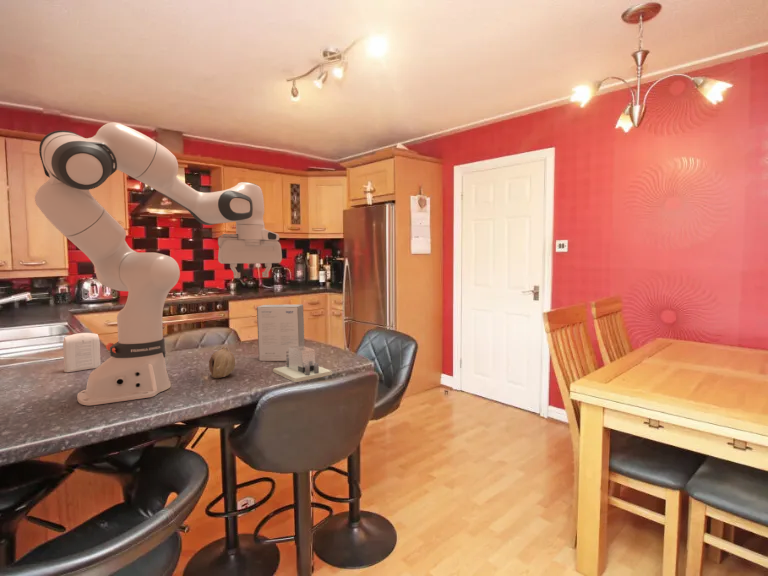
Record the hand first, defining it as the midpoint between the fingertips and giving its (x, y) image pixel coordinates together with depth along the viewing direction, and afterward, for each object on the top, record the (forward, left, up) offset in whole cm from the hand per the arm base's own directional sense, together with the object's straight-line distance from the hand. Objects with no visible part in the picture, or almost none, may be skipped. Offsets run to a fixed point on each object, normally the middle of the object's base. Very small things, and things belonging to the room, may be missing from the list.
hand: (251, 277), depth 140 cm
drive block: (+11, -12, -30) cm, 34 cm away
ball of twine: (-10, +1, -31) cm, 33 cm away
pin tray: (+11, -12, -31) cm, 35 cm away
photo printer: (-43, +40, -31) cm, 67 cm away
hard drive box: (+15, +10, -31) cm, 36 cm away
